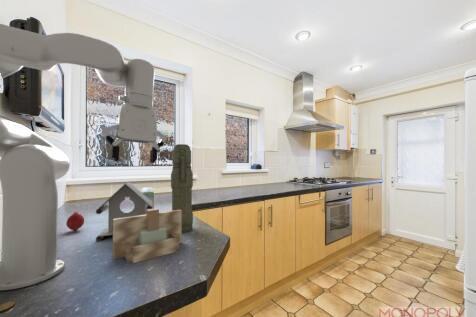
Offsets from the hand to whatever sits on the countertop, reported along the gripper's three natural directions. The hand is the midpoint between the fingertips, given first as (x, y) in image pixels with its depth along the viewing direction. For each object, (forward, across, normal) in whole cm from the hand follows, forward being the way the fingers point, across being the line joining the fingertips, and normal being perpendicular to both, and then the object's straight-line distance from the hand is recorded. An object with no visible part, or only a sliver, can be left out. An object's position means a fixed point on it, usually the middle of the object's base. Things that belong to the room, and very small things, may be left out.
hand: (135, 161), depth 60 cm
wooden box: (+27, +6, 0) cm, 28 cm away
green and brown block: (+26, +6, 0) cm, 27 cm away
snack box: (+28, +16, +43) cm, 53 cm away
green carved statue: (+27, +23, +16) cm, 39 cm away
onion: (+29, -12, +43) cm, 53 cm away
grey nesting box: (+28, +4, +25) cm, 38 cm away
